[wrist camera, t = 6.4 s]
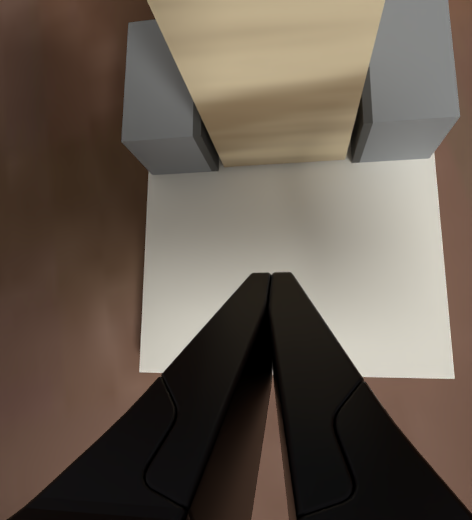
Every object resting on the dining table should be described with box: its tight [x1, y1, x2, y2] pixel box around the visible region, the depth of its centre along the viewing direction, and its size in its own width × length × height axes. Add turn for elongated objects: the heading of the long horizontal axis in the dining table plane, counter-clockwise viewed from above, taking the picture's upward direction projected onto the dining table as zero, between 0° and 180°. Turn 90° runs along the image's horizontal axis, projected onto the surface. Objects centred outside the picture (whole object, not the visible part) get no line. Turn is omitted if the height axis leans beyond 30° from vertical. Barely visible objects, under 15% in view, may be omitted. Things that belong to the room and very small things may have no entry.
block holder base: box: [121, 0, 460, 379], centre depth 16 cm, size 14×12×4 cm
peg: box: [147, 0, 385, 167], centre depth 12 cm, size 5×5×11 cm
